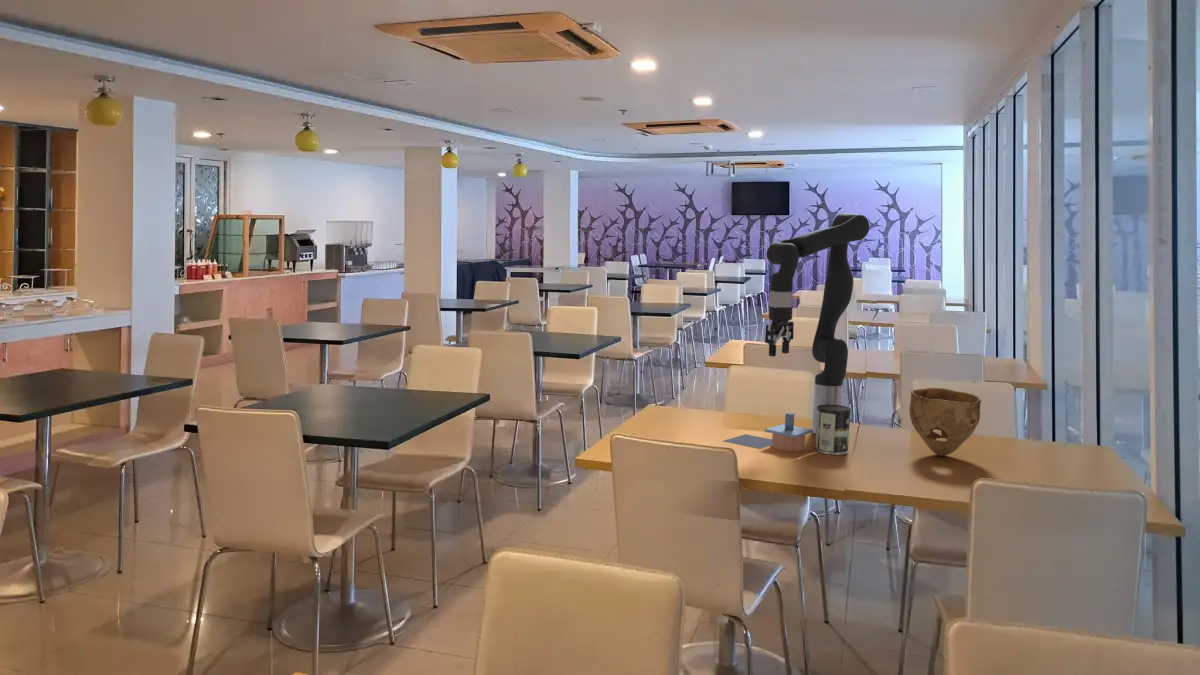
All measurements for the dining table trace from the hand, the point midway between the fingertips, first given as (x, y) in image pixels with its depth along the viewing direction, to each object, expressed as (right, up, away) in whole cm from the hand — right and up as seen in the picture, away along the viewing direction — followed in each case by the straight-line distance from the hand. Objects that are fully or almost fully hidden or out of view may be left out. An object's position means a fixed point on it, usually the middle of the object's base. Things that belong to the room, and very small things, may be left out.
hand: (778, 354), depth 303 cm
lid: (+2, -24, -7) cm, 25 cm away
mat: (-9, -29, 0) cm, 30 cm away
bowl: (+49, -32, -10) cm, 59 cm away
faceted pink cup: (+2, -30, -6) cm, 31 cm away
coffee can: (+15, -31, -7) cm, 35 cm away
